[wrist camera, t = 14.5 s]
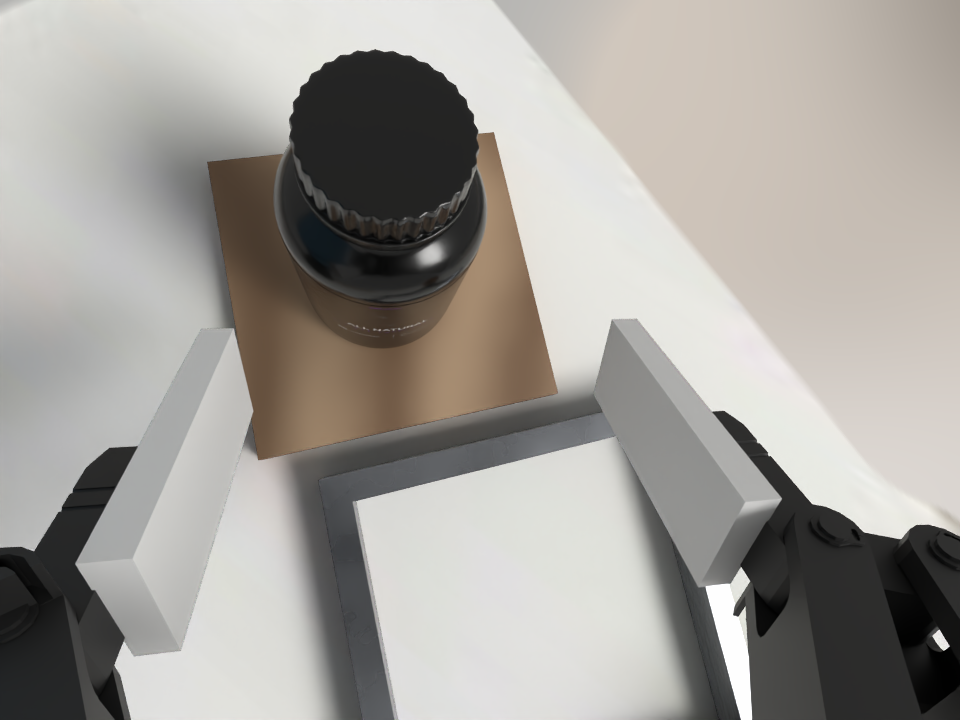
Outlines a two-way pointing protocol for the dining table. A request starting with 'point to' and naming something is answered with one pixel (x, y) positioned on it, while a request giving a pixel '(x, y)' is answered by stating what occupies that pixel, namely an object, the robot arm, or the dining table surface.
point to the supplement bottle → (380, 196)
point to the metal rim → (343, 490)
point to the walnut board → (362, 370)
